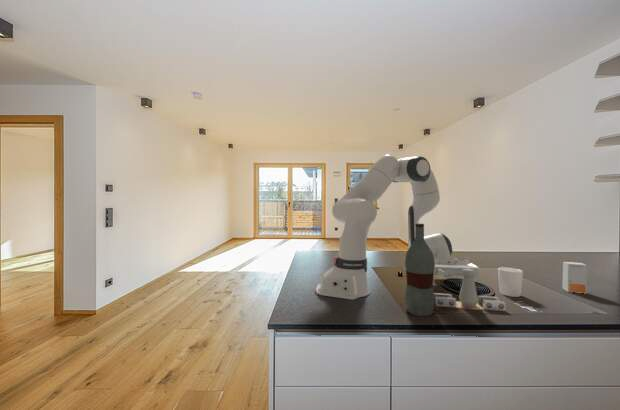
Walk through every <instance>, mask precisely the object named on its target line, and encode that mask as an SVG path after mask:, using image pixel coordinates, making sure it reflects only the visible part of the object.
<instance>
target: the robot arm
mask: <svg viewBox="0 0 620 410" xmlns="http://www.w3.org/2000/svg"><path fill="white" fill-rule="evenodd" d="M392 183H409V184H410V185H411V190H412V191H411V192H412V195H413V199H412V203H411V205H410V206H409V207H408V211H407V213H408V214H407V216H408V219H407V221H408V223H407V224H408V225H407V227H408V242H407V243H408V244H407V247H408V249H409V248H410V246H411V245H412V243H413V242H414V241H415V236H416V225H415V224H419V222H420V220H421V219H422V217H424V216H425V215H427V214H428V213H430V212H432V211H433V210H434V209H435V208H437V206H438V205H439V203H440V201H441V197H440V189H439V186H438V181H437V179H436V177H435V174H434V172H433V171H432V169H431V165H430V163H429V160H428V159H427V158H426V157H425V156H419V155H415V156H409V157H401V158H399V159H397V158H396V157H395V156H394V155H390V154H385V155H382V156H381V157H380V158H379V159H378V160H376V161H375V162H374V163H373V165H371V167H370V168H369V169H368V171H367V172H366V173H365V174H364V175H363V176H362V178H361V179H360V180H359V181H358V183H357V184H356V185H354V186H353V187H352V188H351V189H350V190H349V191H348V192H347V193H346V194H344V195H343V196H342V197H341V198H340V199H339V200H338V201H337V200H336V202H335V203H333V206H332V208H331V209H332V210H331V213H332V216H333V217H334V219H335V220H336V221H338V222H339V223H342V224H344V228H343V232H342V234H341V236H340V237H339V241H338V244H339V247H338V249H339V251H338V254H339V255H335V256H334V257H333V260H334V262H333V263H334V266H332V267H331V268H329V269H328V270H327V271H326V272H324V274H323V275H322V276H321V281H320V282H319V283H318V284H317V285H316V287H315V294H317V295H318V294H319V295H318V296H326V297H329V298H330V297H332V298H339V299H346V300H357V299H359V298H362V297H367V296H368V295H370V293H371V290H370V286H369V283H368V282H369V281H368V274H367V272H368V258H367V239H368V234H369V230H370V228H371V225H372V224H373V223H374V222H375V220H376V218H377V215H378V211H377V206H376V205H375V202H377V201H378V200H380V199H381V197H382V195H383V194H384V193H385V192H386V191H387V189H388V188H389V187H390V186H391V184H392ZM424 240H425V242H426V243H427V245H428V247H429V248H430V250H431V251H432V253H433V256H434V262H435V267H434V275H433V276H442V277H447V278H450V277H464V276H463V275H462V273H461V272H462V269H472V270H474V271H475V272H476V275H475V277H474V278H479V277H480V276H481V268H480V266H478V265H476V264H474V263H473V262H470V260H468V259H464V258H457V257H453V256H452V254H453V246H452V242H451V240H450V239H449V237H448V236H446V235H445V234H443V233H442V232H439V233H433V234H428V235H424ZM408 249H407V250H408Z"/></svg>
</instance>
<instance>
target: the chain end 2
mask: <svg viewBox="0 0 620 410" xmlns="http://www.w3.org/2000/svg"><path fill="white" fill-rule="evenodd" d="M477 297H478V302H477V303H478V304H479V305H480V306H482V308H483V309H484V310H483V311H485V310H486V311H501V312H506V301H504V300H500V297H498V296H489V295H488V296H486V295H477Z"/></svg>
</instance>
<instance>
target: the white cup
mask: <svg viewBox="0 0 620 410" xmlns="http://www.w3.org/2000/svg"><path fill="white" fill-rule="evenodd" d="M497 273H498V287H499V293H500V295H503V296H506V297H513V298H518V297H519V298H520V297H521V294H522V292H521V291H522V287H523V274H524V272H523V270H522V269H518V268H514V267H509V266H508V267H506V266H501V267H500V266H499V267H498V268H497Z"/></svg>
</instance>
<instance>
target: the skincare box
mask: <svg viewBox="0 0 620 410" xmlns="http://www.w3.org/2000/svg"><path fill="white" fill-rule="evenodd" d="M587 280H588V265H587V264H585V263H582V262H576V261H575V262H574V261H562V283H561V284H562V286H561V288H562V290H563V289H564V290H563V291H566V293H573V292H575V294H581V293H584V294H583V295H586V294H587V287H588V286H587V285H588V283H587Z"/></svg>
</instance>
